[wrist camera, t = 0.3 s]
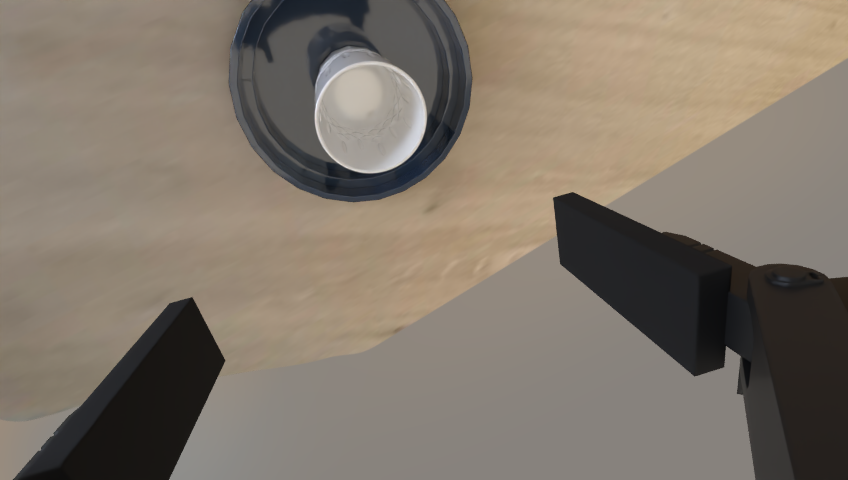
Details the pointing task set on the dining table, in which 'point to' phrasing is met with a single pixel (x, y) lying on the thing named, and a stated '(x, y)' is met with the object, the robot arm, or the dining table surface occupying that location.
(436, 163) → the plate
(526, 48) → the dining table surface
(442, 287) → the dining table surface
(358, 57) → the white cup
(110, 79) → the dining table surface
